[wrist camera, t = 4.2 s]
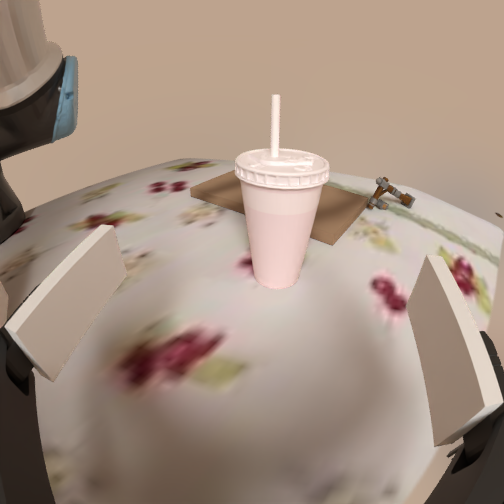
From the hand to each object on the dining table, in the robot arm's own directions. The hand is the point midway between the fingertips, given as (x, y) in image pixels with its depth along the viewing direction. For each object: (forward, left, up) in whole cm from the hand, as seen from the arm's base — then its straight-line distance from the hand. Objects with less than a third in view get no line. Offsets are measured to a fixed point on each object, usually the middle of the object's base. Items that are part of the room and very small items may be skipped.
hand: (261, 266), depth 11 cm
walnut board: (-13, +22, -8) cm, 26 cm away
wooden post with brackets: (+1, +30, -8) cm, 31 cm away
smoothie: (-5, +9, -8) cm, 13 cm away
